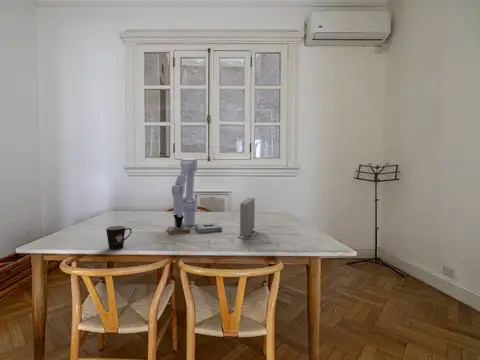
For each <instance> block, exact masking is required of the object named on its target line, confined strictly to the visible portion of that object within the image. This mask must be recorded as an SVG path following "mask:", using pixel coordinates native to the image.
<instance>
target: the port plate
mask: <svg viewBox="0 0 480 360" xmlns="http://www.w3.org/2000/svg"><path fill="white" fill-rule="evenodd" d="M194 229H195V230H196V231H197V233H198V234H202V233H205V234H206V233H216V232H217V233H219V232H220V233H221V232H223V227H222V226H221V225H220V224H219V223H218V222H209V223H195V225H194Z"/></svg>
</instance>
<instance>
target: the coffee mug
mask: <svg viewBox="0 0 480 360" xmlns="http://www.w3.org/2000/svg"><path fill="white" fill-rule="evenodd" d="M127 230H129V231H130V232H129V233H128V235H127V236H126V237H125V234H126V233H125V232H126V231H127ZM105 231H106V237H107V245H108V249H109V250H110V249H111V250H110V251H117V249H118V250H122V249H123V248H124V242H125V240H127V239H128V238H130V236H131V234H132V228H129V227H127V228H126V226H124V225H112V226H107V227H105ZM121 248H122V249H121Z"/></svg>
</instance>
